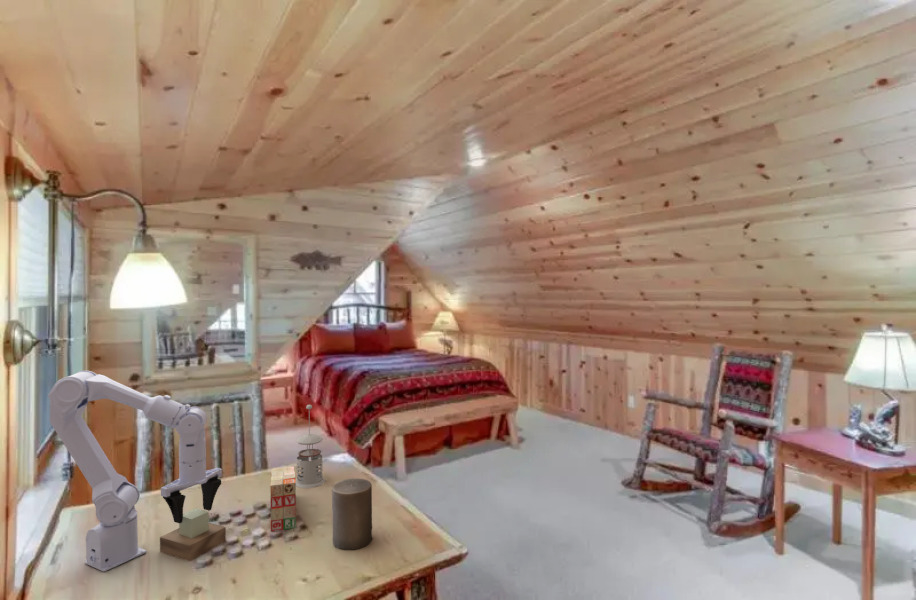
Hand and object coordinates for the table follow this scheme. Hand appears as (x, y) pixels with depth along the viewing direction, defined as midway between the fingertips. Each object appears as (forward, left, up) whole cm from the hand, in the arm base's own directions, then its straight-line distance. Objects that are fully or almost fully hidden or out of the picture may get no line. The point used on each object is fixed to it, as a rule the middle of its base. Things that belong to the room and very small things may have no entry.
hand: (193, 515), depth 123 cm
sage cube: (0, 0, -4) cm, 4 cm away
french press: (+44, +5, -8) cm, 45 cm away
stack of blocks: (+23, -5, -8) cm, 25 cm away
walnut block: (0, 0, -8) cm, 8 cm away
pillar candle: (+20, -32, -8) cm, 39 cm away
